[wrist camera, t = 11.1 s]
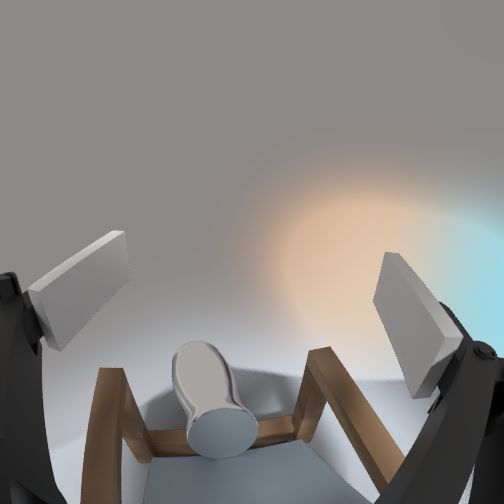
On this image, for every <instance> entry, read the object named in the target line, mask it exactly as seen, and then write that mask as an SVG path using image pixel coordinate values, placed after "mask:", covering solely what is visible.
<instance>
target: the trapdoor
mask: <svg viewBox="0 0 504 504" xmlns="http://www.w3.org/2000/svg"><path fill="white" fill-rule="evenodd" d="M143 504H372V503H371V502H370V501H368V500H367V499H366V498H365V497H364V496H362V495H361V494H360V493H359V492H358V491H357V490H355V489H354V488H353V487H352V486H351V485H350V484H348V483H347V482H346V481H345V480H344V479H343V478H342V477H341V476H339V475H338V474H337V473H336V472H335V471H334V470H333V469H332V468H331V467H330V466H329V465H328V464H326V463H325V462H324V461H323V460H322V459H321V458H320V457H319V456H318V455H317V454H316V453H315V452H314V451H313V450H312V449H311V448H310V447H309V446H308V445H307V444H306V443H305V442H304V441H303V440H302V439H299V440H295V441H291V442H287V443H283V444H278V445H273V446H268V447H263V448H257V449H252V450H245V451H244V452H242V453H241V454H239V455H236V456H233V457H230V458H225V459H212V458H207V457H204V456H190V457H166V458H152V460H151V465H150V470H149V475H148V479H147V484H146V489H145V495H144V500H143Z"/></svg>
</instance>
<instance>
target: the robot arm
mask: <svg viewBox="0 0 504 504" xmlns="http://www.w3.org/2000/svg"><path fill="white" fill-rule="evenodd" d="M129 279H131V277H130V270H129V262H128V255H127V247H126V239H125V232H124V231H112V232H110V233H108V234H107V235H105V236H104V237H102V238H100V239H99V240H97V241H96V242H94V243H92V244H91V245H89V246H88V247H86V248H84V249H83V250H81V251H80V252H78V253H77V254H75V255H74V256H72V257H71V258H69V259H68V260H66V261H65V262H63V263H62V264H60V265H59V266H58V267H56V268H55V269H53V270H52V271H50V272H49V273H48V274H46V275H45V276H43V277H42V278H41V279H39V280H38V281H36V282H35V283H34V284H32V285H31V286H30V287H28V288H27V291H26V292H24V293H23V294H22V292H21V289H20V285H19V282H18V279H17V275H16V274H15V273H14V272H7V273H3V274H1V275H0V504H67V502H66V500H65V498H64V497H63V495H62V494H61V492H60V491H59V490H58V488H57V486H56V483H55V479H54V475H53V470H52V465H51V460H50V455H49V449H48V443H47V436H46V428H45V419H44V408H43V393H42V345H41V342H40V340H39V339H40V338H41V337H42V336H43V335H44V337H45V339H46V342H47V344H48V346H49V347H50V348H53V349H55V350H58V351H62V350H63V349H64V348H65V346H66V345H67V344H68V343H69V342H70V341H71V340H72V339H73V338H74V336H75V335H76V334H77V333H78V332H79V331H80V330H81V329H82V328H83V327H84V325H86V324H87V322H88V321H89V320H90V319H91V318H92V317H93V316H94V315H95V314H96V313H97V312H98V311H99V310H100V309H101V308H102V307H103V306H104V305H105V304H106V303H107V302H108V301H109V300H110V299H111V297H112V296H114V295H115V293H117V292H118V290H119V289H120V288H122V287H123V285H125V284H126V283H127V282H128V281H129ZM373 303H374V305H375V307H376V309H377V311H378V314H379V316H380V318H381V320H382V323H383V325H384V327H385V330H386V332H387V334H388V337H389V339H390V342H391V344H392V346H393V349H394V351H395V354H396V356H397V359H398V361H399V364H400V367H401V369H402V372H403V375H404V377H405V380H406V383H407V385H408V388H409V391H410V394H411V397H412V399H417V398H425V397H430V396H431V394H432V392H433V391H434V389H435V388H436V386H438V388H439V390H440V392H441V393H440V394H439V396H438V397H437V399H436V400H435V402H434V403H433V405H432V406H431V408H430V409H429V411H428V412H427V413H429V416H428V418H427V420H426V422H425V424H424V426H423V428H422V430H421V432H420V433H419V435H418V437H417V439H416V441H415V442H414V444H413V446H412V448H411V449H410V451H409V453H408V455H407V456H406V458H405V459H404V461H403V463H402V464H401V466H400V467H399V469H398V470H397V472H396V474H395V475H394V476H393V478H392V479H391V481H390V482H389V484H388V485H387V487H386V488H385V489H384V491H383V492H382V493H381V495H380V496H379V498H378V499H377V500H376V501H375V503H374V504H458V503H459V501H460V499H461V496H462V494H463V492H464V490H465V487H466V485H467V482H468V480H469V477H470V475H471V472H472V469H473V467H474V464H475V467H474V475H473V482H472V488H471V493H470V498H469V503H468V504H504V358H499V357H497V354H496V352H495V350H494V349H493V348H492V347H491V346H490V345H488V344H486V343H484V342H481V341H473V340H472V338H471V337H470V335H469V334H468V332H467V331H466V330H465V328H464V327H463V326H462V324H461V323H460V322H459V320H458V319H457V317H455V315H454V314H453V312H452V311H451V310H450V308H448V307H447V306H446V305H444V304H443V303H441V302H438V301H437V299H436V298H435V297H434V295H433V294H432V293H431V292H430V290H429V289H428V288H427V287H426V285H425V284H424V283H423V282H422V281H421V279H420V278H419V277H418V276H417V274H416V273H415V272H414V271H413V269H412V268H411V267H410V266H409V265H408V264H407V262H406V261H405V260H404V259H403V258H402V257H401V256H400V254H399V253H390V252H385V254H384V259H383V263H382V268H381V272H380V276H379V280H378V284H377V288H376V292H375V296H374V299H373Z"/></svg>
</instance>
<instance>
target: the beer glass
mask: <svg viewBox="0 0 504 504" xmlns="http://www.w3.org/2000/svg"><path fill="white" fill-rule="evenodd" d="M172 382H173V387H174V391H175V393H176V396H177V398H178V400H179V402H180V404H181V406H182V408H183V410H184V412H185V414H186V416H187V428H186V437H187V441H188V444H189V445H190V447H191V448H192V449H193V450H194V451H195V452H196V453H198V454H199V455H201V456H204V457H207V458H212V459H225V458H230V457H233V456H236V455H239V454H241V453H242V452H244V451H245V450H247V449H248V448H249V447H250V446H251V445H252V444H253V443H254V441H255V440H256V438H257V435H258V431H259V427H258V422H257V420H256V418H255V417H254V415H253V414H252V413H251V412H250V411H249V410H248V409H247V408H246V407H245V406H244V405H243V404H242V403H241V401H240V399H239V395H238V390H237V385H236V381H235V378H234V374H233V372H232V370H231V368H230V366H229V364H228V363H227V361H226V360H225V358H224V357H223V356H222V355H221V353H220V352H219V351H218V349H217V348H216V347H214V346H213V345H211V344H210V343H207V342H203V341H193V342H189V343H186V344H184V345H183V346H181V347H180V348H179V349H178V350H177V351H176V353H175V354H174V357H173V360H172Z"/></svg>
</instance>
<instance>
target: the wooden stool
mask: <svg viewBox="0 0 504 504" xmlns="http://www.w3.org/2000/svg"><path fill="white" fill-rule="evenodd" d="M327 401H328V403H329V405H330V407H331V409H332V410H333V412H334V414H335V416H336V418H337V419H338V421H339V423H340V425H341V426H342V428H343V430H344V432H345V434H346V435H347V437H348V439H349V441H350V442H351V444H352V446H353V448H354V450H355V451H356V453H357V455H358V457H359V458H360V460H361V462H362V464H363V465H364V467H365V469H366V471H367V472H368V474H369V476H370V478H371V480H372V481H373V483H374V485H375V487H376V488H377V490H378V492H379V494H380V495H381V493H382V492H383V491H384V489H385V488H386V487H387V485H388V484H389V482H390V481H391V479H392V478H393V476H394V475H395V474H396V472H397V470H398V469H399V467H400V466H401V464H402V463H403V461H404V459H405V456H404V455H403V453H402V452H401V450H400V449H399V447H398V446H397V444H396V443H395V441H394V440H393V438H392V437H391V435H390V434H389V432H388V431H387V429H386V428H385V426H384V425H383V423H382V422H381V420H380V419H379V417H378V416H377V415H376V413H375V412H374V410H373V409H372V407H371V406H370V404H369V403H368V401H367V400H366V398H365V397H364V395H363V394H362V392H361V391H360V389H359V388H358V386H357V385H356V384H355V382H354V381H353V379H352V378H351V376H350V375H349V373H348V372H347V370H346V369H345V367H344V366H343V364H342V363H341V362H340V360H339V359H338V357H337V356H336V354H335V353H334V351H333V350H332V348H331V347H325V348H320V349H315V350H310V351H309V353H308V357H307V362H306V366H305V370H304V375H303V379H302V383H301V387H300V391H299V395H298V399H297V403H296V407H295V411H294V414H292V415H287V416H282V417H277V418H272V419H267V420H261V421H257V422H258V427H259V431H258V435H257V438H256V440H255V441H254V443H253V444H252V445H251V446H250V447H256V446H262V445H267V444H272V443H277V442H282V441H286V440H292V441H295V440H299V439H302V440H303V441H304V442H305V443H308V442H311V439H312V437H313V435H314V432H315V430H316V427H317V425H318V422H319V420H320V417H321V415H322V412H323V410H324V407H325V404H326V402H327ZM122 437H123V438H124V440H125V442H126V443H127V445H128V447H129V448H130V450H131V451H132V453H133V454H134V456H135V457H136V459H137V460H138V462H139V463H151V460H152V458H157V457H156V455H188V454H198V453H196V452H195V451H194V450H193V449H192V448H191V447H190V445H189V444H188V441H187V437H186V429H182V430H147V428H146V426H145V423H144V421H143V419H142V416H141V414H140V412H139V409H138V407H137V404H136V402H135V399H134V397H133V394H132V392H131V389H130V387H129V384H128V381H127V378H126V376H125V373H124V370H123V368H100V369H99V373H98V377H97V382H96V387H95V391H94V397H93V402H92V407H91V412H90V418H89V424H88V430H87V437H86V445H85V452H84V461H83V472H82V484H81V503H80V504H122V501H121V459H122ZM250 447H249V448H250Z"/></svg>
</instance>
